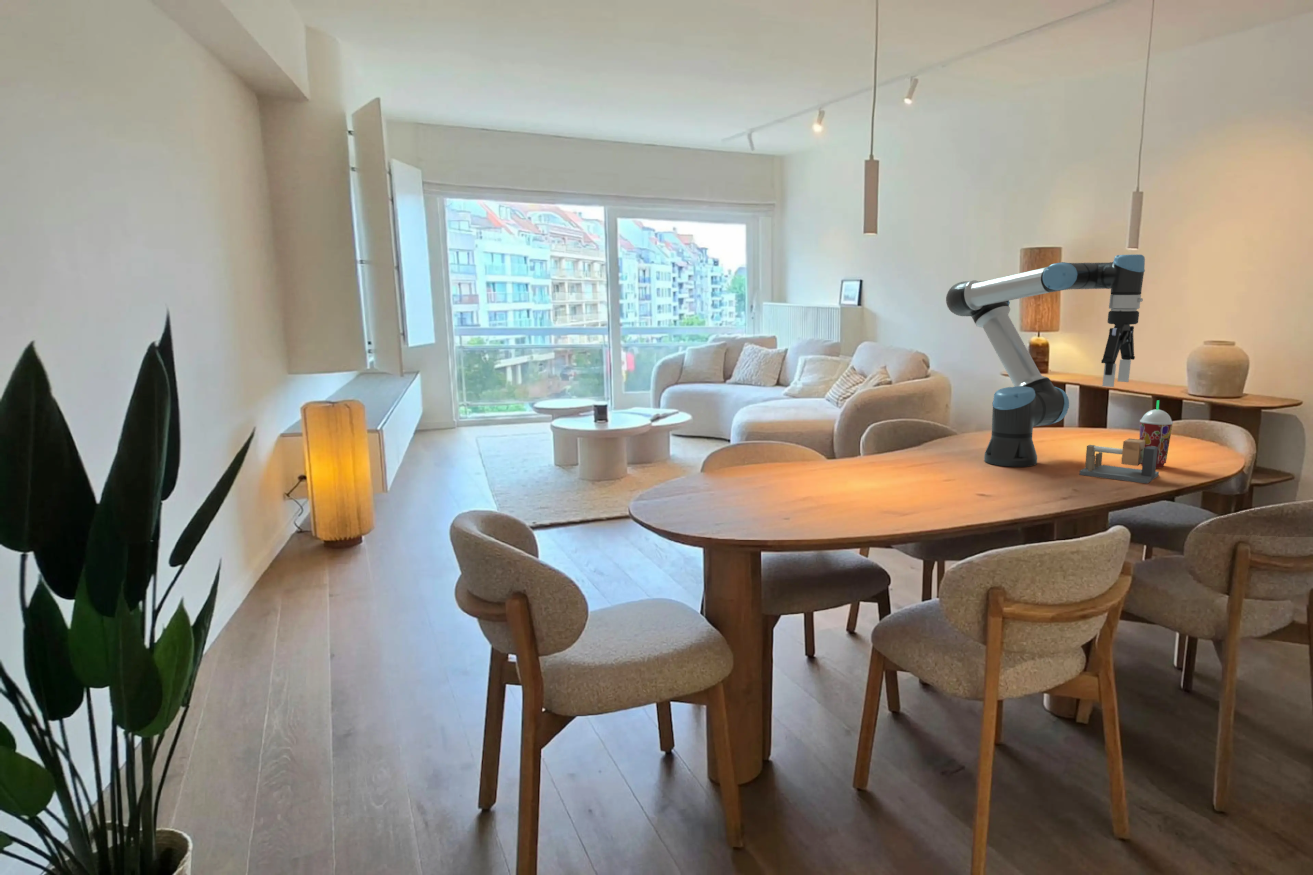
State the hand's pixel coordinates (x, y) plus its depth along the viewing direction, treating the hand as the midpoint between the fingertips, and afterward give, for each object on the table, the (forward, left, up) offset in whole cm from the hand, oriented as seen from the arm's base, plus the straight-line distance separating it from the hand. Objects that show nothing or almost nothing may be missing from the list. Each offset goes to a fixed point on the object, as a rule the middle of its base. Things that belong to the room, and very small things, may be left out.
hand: (1115, 384), depth 218 cm
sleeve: (+7, -5, -22) cm, 23 cm away
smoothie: (+8, +14, -26) cm, 30 cm away
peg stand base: (+4, -5, -26) cm, 27 cm away
